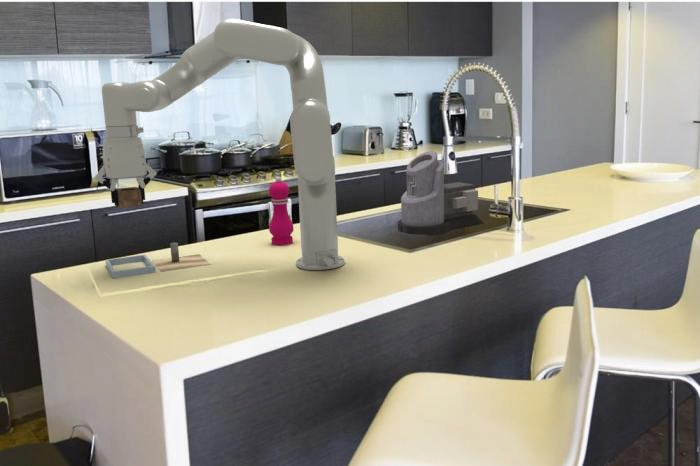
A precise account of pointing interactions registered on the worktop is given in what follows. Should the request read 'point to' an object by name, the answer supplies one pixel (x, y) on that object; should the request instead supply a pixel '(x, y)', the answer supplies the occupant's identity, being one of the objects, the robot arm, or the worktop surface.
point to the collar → (129, 197)
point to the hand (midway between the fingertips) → (128, 203)
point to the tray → (130, 271)
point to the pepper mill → (280, 214)
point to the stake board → (179, 260)
